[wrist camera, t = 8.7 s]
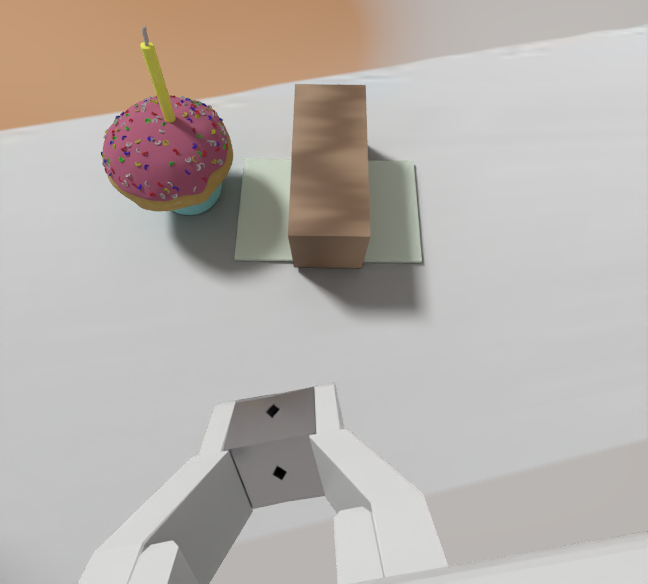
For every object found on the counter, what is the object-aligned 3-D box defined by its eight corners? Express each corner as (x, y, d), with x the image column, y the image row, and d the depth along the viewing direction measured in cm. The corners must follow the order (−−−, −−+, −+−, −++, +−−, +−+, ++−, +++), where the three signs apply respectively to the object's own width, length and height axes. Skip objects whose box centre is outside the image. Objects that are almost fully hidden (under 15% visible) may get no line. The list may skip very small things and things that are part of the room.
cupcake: (211, 132, 30) (144, -37, 19) (266, 201, 28) (227, 58, 16) (120, 182, 28) (-16, 30, 17) (170, 259, 26) (53, 145, 15)
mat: (235, 260, 26) (234, 258, 26) (245, 161, 29) (244, 158, 29) (420, 262, 26) (421, 261, 26) (412, 163, 29) (413, 161, 29)
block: (287, 235, 21) (295, 84, 25) (294, 267, 26) (299, 136, 29) (370, 236, 21) (365, 85, 25) (361, 268, 26) (358, 136, 29)
